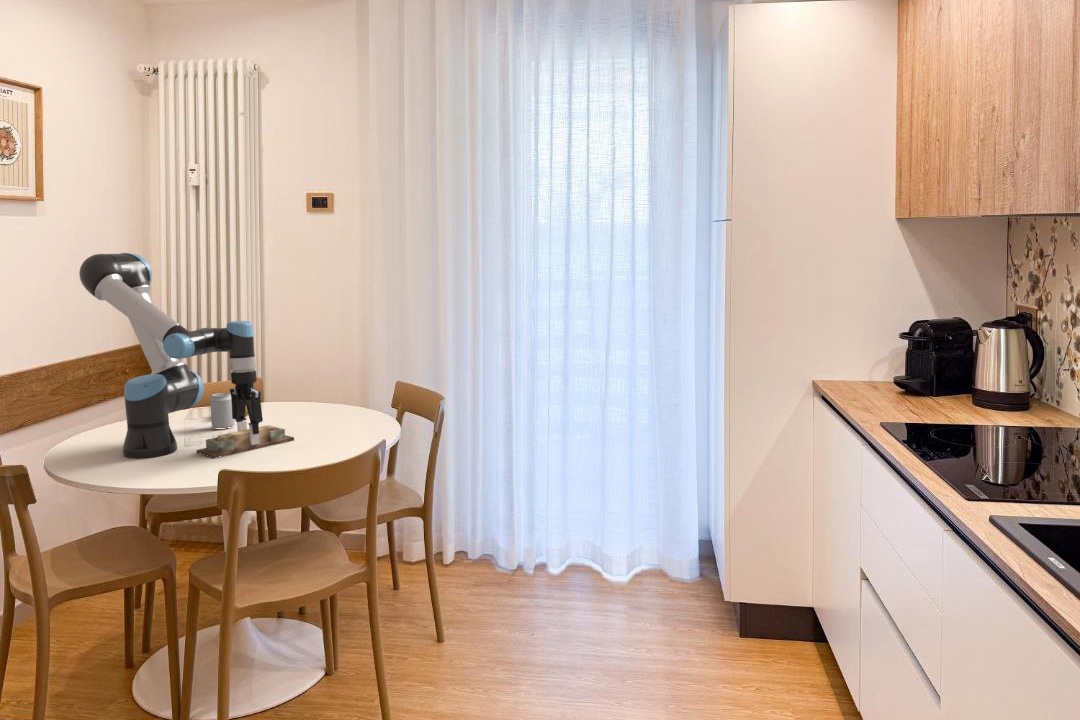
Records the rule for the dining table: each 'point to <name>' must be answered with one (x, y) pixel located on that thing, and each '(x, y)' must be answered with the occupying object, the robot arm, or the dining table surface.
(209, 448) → the cradle
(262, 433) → the slat
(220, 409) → the can
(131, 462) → the dining table surface
